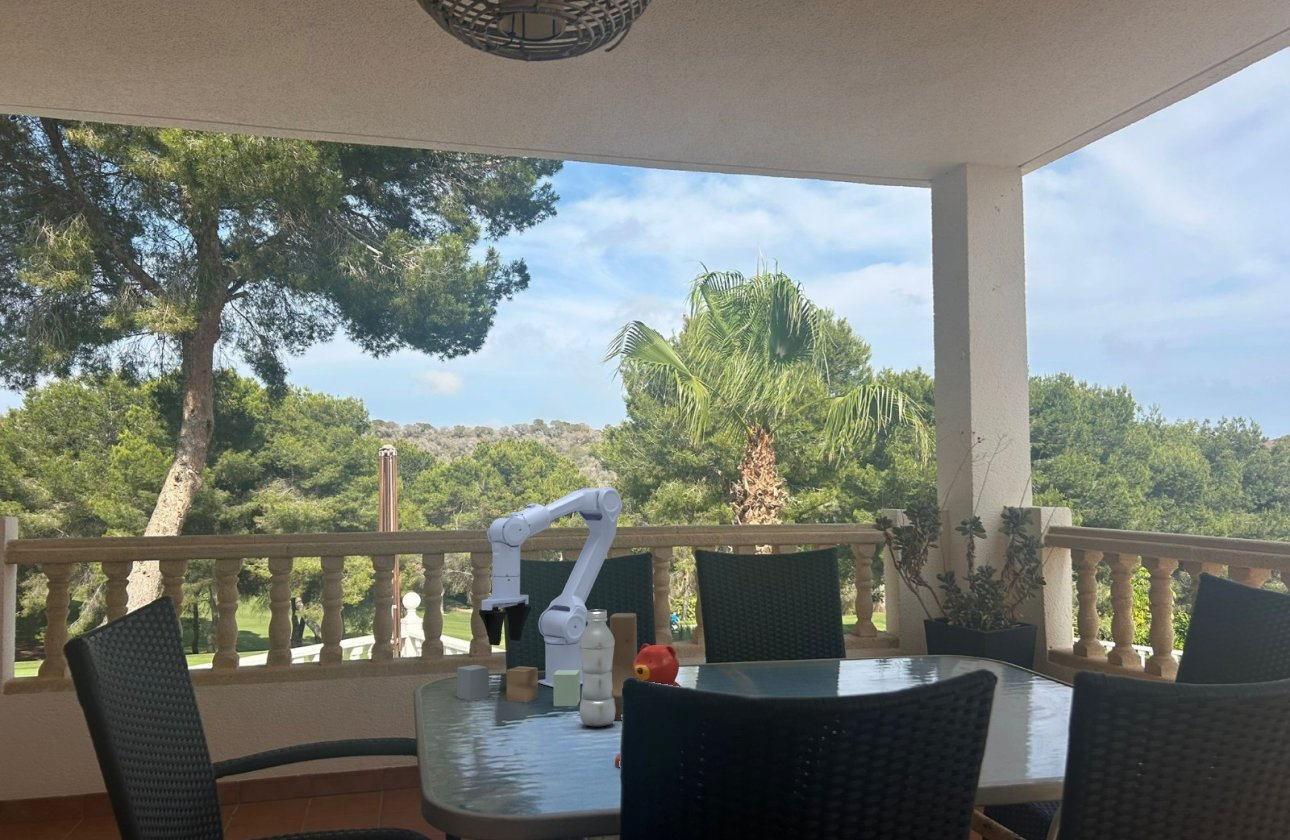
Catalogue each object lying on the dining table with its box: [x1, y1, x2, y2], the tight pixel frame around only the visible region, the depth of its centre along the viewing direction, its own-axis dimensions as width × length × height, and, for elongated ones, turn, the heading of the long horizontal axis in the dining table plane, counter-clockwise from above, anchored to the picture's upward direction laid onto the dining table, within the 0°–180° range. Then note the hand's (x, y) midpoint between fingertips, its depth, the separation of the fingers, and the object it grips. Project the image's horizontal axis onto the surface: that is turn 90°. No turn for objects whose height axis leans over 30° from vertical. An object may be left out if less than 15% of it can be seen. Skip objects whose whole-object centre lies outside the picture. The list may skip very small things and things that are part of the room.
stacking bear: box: [614, 643, 682, 768], centre depth 140 cm, size 11×10×18 cm
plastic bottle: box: [579, 609, 616, 728], centre depth 165 cm, size 6×7×20 cm
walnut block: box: [506, 666, 539, 703], centre depth 187 cm, size 4×4×6 cm
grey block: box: [456, 664, 490, 702], centre depth 190 cm, size 4×4×6 cm
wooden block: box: [609, 612, 638, 721], centre depth 173 cm, size 9×4×18 cm, turn 173°
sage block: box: [552, 670, 581, 707], centre depth 183 cm, size 4×4×6 cm
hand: (505, 642), depth 193 cm, fingers open, 7 cm apart
